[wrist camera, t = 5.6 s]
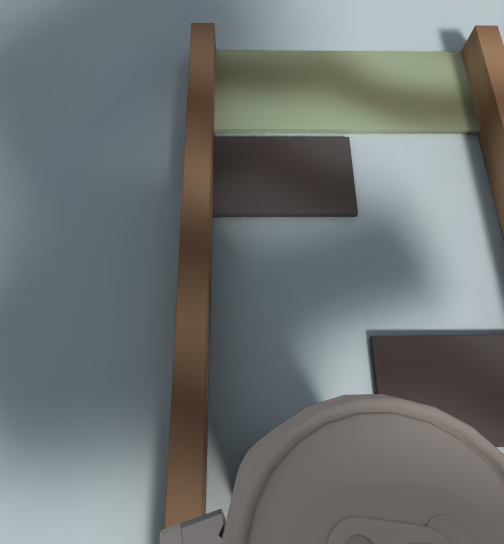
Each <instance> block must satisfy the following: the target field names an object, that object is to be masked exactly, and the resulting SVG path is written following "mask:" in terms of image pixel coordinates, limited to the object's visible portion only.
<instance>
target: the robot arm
mask: <svg viewBox="0 0 504 544" xmlns="http://www.w3.org/2000/svg"><path fill="white" fill-rule="evenodd" d="M460 421H461V420H460ZM225 524H226V520H225V517H224V514H223V512H222V509H219V510H216V511H213V512H211V513H208V514H205V515H202V516H199V517H196V518H193V519H190V520H188V521H185V522H182V523H179V524H177V525H174V526H171V527H168V528H166V529H163V530H161V533H160V544H223V533H224V529H225Z"/></svg>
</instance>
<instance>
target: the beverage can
mask: <svg viewBox="0 0 504 544" xmlns="http://www.w3.org/2000/svg"><path fill="white" fill-rule="evenodd" d="M223 544H504V454H503V453H502V452H501V451H499V450H498V449H497V448H496V447H495V446H494V445H493V444H491V443H490V442H489V441H488V440H487V439H486V438H485V437H483V436H482V435H481V434H480V433H479V432H478V431H477V430H475V429H474V428H473V427H472V426H470V425H468V424H466V423H464V422H462V421H460V420H458V419H457V418H455V417H453V416H451V415H449V414H447V413H445V412H443V411H441V410H440V409H438V408H436V407H433V406H429V405H425V404H421V403H417V402H413V401H409V400H405V399H401V398H397V397H392V396H388V395H384V394H366V395H343V396H340V397H336V398H333V399H330V400H326V401H323V402H320V403H316V404H313V405H310V406H308V407H306V408H305V409H303V410H302V411H300V412H299V413H297V414H295V415H294V416H292V417H291V418H289V419H288V420H286V421H285V422H283V423H282V424H280V425H279V426H277V427H276V428H274V429H273V430H271V431H270V432H269V433H268V434H266V435H265V436H264V437H262V438H261V439H259V440H258V441H257V442H256V443H255V444H254V445H253V446H252V447H251V448H250V449H249V450H248V451H247V452H246V454H245V456H244V458H243V460H242V462H241V464H240V465H239V468H238V472H237V476H236V481H235V485H234V489H233V494H232V498H231V503H230V507H229V511H228V516H227V520H226V524H225V529H224V533H223Z"/></svg>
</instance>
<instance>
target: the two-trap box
mask: <svg viewBox="0 0 504 544" xmlns="http://www.w3.org/2000/svg"><path fill="white" fill-rule="evenodd" d="M214 133H478V137H479V141H480V145H481V149H482V153H483V157H484V161H485V165H486V169H487V173H488V177H489V181H490V185H491V189H492V193H493V197H494V202H495V206H496V210H497V214H498V218H499V222H500V226H501V230H502V234H503V238H504V46H503V42H502V39H501V36H500V32H499V29H498V26H475V27H474V29H473V31H472V33H471V34H470V36H469V38H468V40H467V42H466V44H465V45H464V47H463V49H462V51H461V52H401V51H252V50H216V42H215V28H214V23H191V42H190V61H189V80H188V99H187V117H186V136H185V155H184V174H183V193H182V212H181V230H180V249H179V268H178V287H177V306H176V325H175V343H174V362H173V381H172V400H171V419H170V437H169V456H168V475H167V494H166V513H165V529H166V528H168V527H171V526H174V525H177V524H179V523H182V522H185V521H188V520H190V519H193V518H196V517H199V516H202V515H205V514H206V474H207V432H208V389H209V346H210V303H211V261H212V218H213V217H349V216H357V214H358V210H357V202H356V193H355V184H354V175H353V167H352V158H351V149H350V141H349V137H214ZM370 341H371V350H372V359H373V368H374V377H375V386H376V394H384V395H388V396H392V397H397V398H401V399H405V400H409V401H413V402H417V403H421V404H425V405H429V406H433V407H436V408H438V409H440V410H441V411H443V412H445V413H447V414H449V415H451V416H453V417H455V418H457V419H458V420H461V421H462V422H464V423H466V424H468V425H470V426H472V427H473V428H474V429H475V430H477V431H478V432H479V433H480V434H481V435H482V436H483V437H485V438H486V439H487V440H488V441H489V442H490V443H491V444H493V445H494V446H495V447H504V335H434V336H371V337H370Z"/></svg>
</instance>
